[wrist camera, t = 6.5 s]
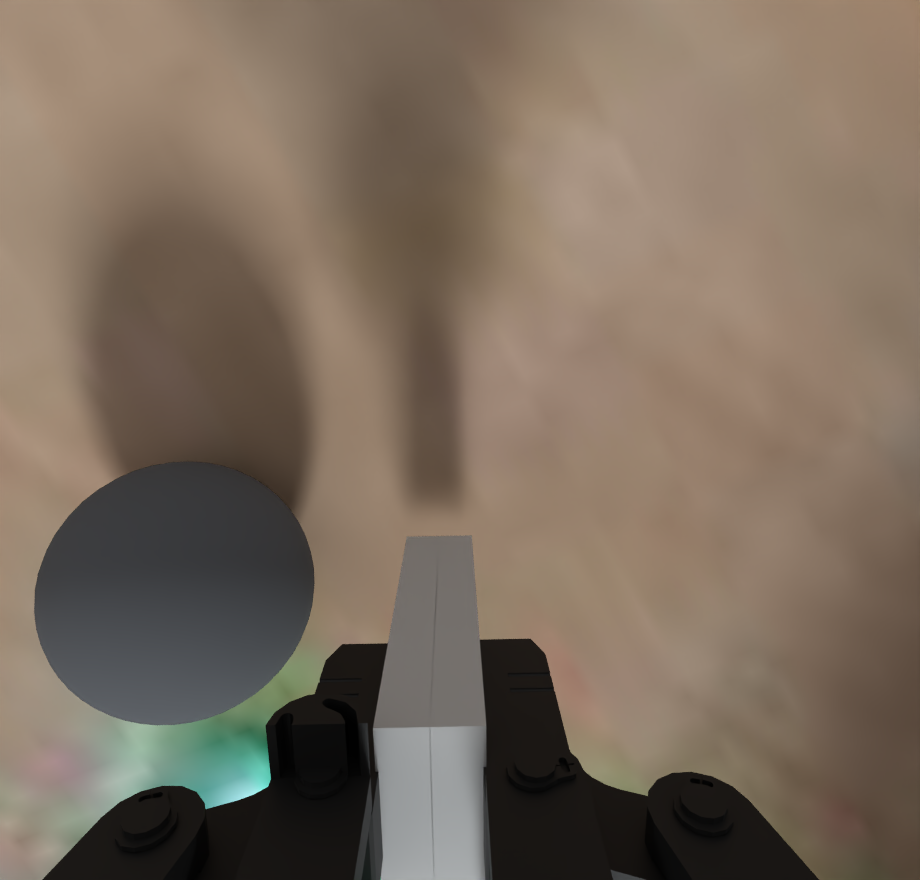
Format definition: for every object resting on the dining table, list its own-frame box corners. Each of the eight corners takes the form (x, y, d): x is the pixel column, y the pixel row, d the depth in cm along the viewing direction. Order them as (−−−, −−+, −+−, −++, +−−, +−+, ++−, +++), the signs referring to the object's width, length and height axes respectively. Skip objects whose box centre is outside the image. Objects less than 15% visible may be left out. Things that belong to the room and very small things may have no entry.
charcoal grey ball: (-30, 499, 10) (81, 437, 15) (-11, 805, 11) (87, 649, 16) (322, 499, 12) (314, 443, 17) (313, 772, 13) (308, 638, 18)
